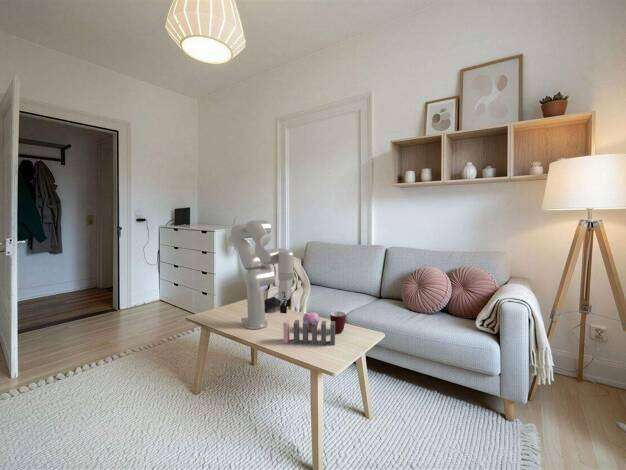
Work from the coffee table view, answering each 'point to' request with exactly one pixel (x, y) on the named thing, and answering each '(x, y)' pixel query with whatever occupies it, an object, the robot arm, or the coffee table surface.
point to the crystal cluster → (272, 305)
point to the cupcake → (311, 319)
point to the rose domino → (286, 331)
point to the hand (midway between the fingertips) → (285, 309)
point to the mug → (338, 321)
